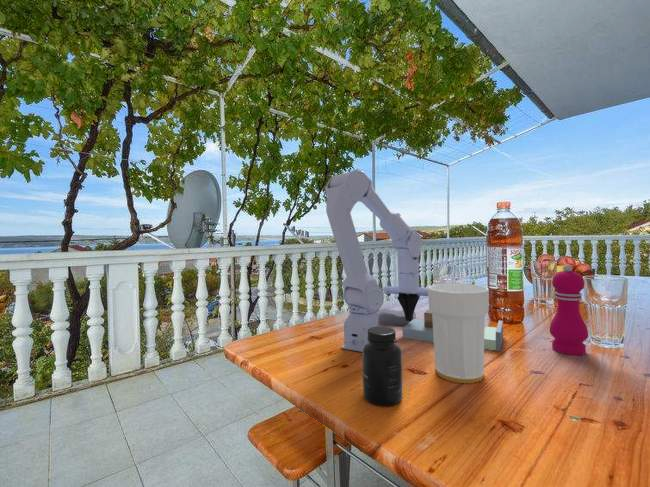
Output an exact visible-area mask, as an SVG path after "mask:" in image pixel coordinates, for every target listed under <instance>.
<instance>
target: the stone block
mask: <svg viewBox="0 0 650 487" xmlns="http://www.w3.org/2000/svg"><path fill="white" fill-rule="evenodd" d="M416 314H417V313H416V312H415V310H414V314H413V319H417V316H416ZM409 322H411V321H406V318H405V314H404V311H403V310H395V309H390V308H380V309H379V311H378V325H389V326H390V325H391V326H406V325H407V324H408V323H409Z"/></svg>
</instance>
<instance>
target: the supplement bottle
mask: <svg viewBox="0 0 650 487" xmlns="http://www.w3.org/2000/svg"><path fill="white" fill-rule="evenodd" d="M396 337H397V335H396V330H395V329H394V328H392V327H389V326H382V325H381V326H379V325H378V327H372V328H369V329H368V337H367V340H368V342H369V343H367V344H366V345H365V346H364V347H363V350H362V352H361V353H362V357H361V358H362V392H363V397H364V398H365V400H366V401H367V402H368V403H370V404H372V405H375V406H378V407H392V406H395V405H397V404H399V403H400V402H401V401H402V399H403V354H402V349H401V347H400V346H399V345H398V344H397V343H396V342H397V338H396Z"/></svg>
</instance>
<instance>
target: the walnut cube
mask: <svg viewBox="0 0 650 487" xmlns="http://www.w3.org/2000/svg"><path fill="white" fill-rule="evenodd" d="M423 320H424V327H426V328H433V320H432V312H431V311H430V309H426V310H425V312H423Z"/></svg>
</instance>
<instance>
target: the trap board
mask: <svg viewBox="0 0 650 487" xmlns="http://www.w3.org/2000/svg"><path fill="white" fill-rule="evenodd" d="M496 325H497V326H495V327H494V326H487V325H486V326H485V325H484V350H486V349H489V350H488V351H493V350H496V351H495V352H500V351H502V345H503V342H504V320H500V319H499V320H498V322H497V324H496ZM401 330H402V338H404V339H410V340H417V341H423V342H424V341H425V342H431V343H434V338H433V328H426V327H424V319H420V318H416V319H413V320H412V321H411V322H409V323H408V324H407V325H404V327H402V329H401Z"/></svg>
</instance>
